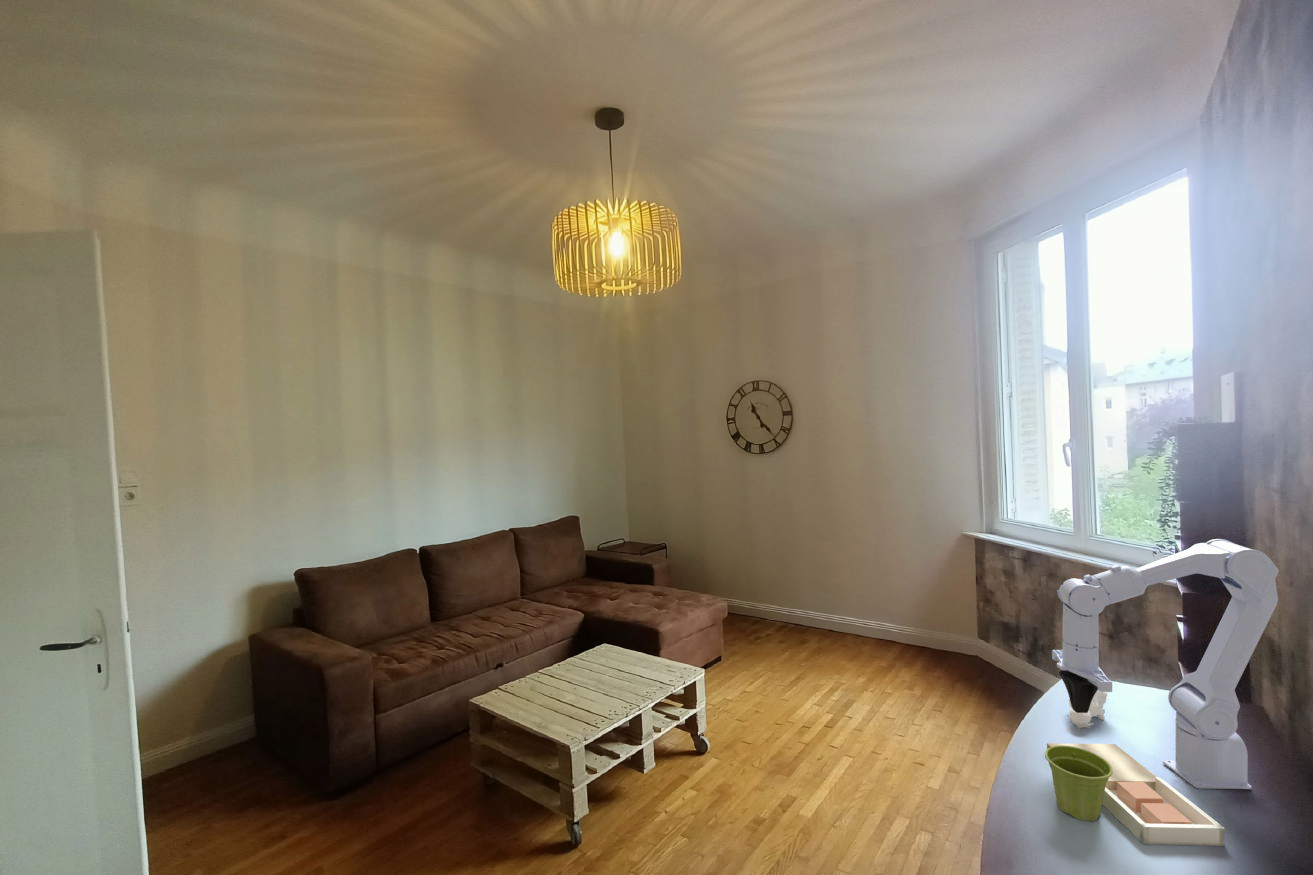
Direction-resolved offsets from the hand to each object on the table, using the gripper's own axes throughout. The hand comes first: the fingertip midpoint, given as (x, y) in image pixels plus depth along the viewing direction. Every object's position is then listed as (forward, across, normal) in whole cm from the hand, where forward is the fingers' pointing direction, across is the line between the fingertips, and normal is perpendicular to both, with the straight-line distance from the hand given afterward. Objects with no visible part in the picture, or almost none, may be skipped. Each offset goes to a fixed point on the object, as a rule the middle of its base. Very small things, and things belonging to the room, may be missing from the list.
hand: (1080, 711), depth 114 cm
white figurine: (+10, -15, +11) cm, 21 cm away
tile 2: (+10, +19, +1) cm, 21 cm away
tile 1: (+10, +13, +2) cm, 16 cm away
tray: (+10, +16, +2) cm, 19 cm away
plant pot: (+10, +14, -9) cm, 20 cm away
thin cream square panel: (+10, +3, +2) cm, 11 cm away
